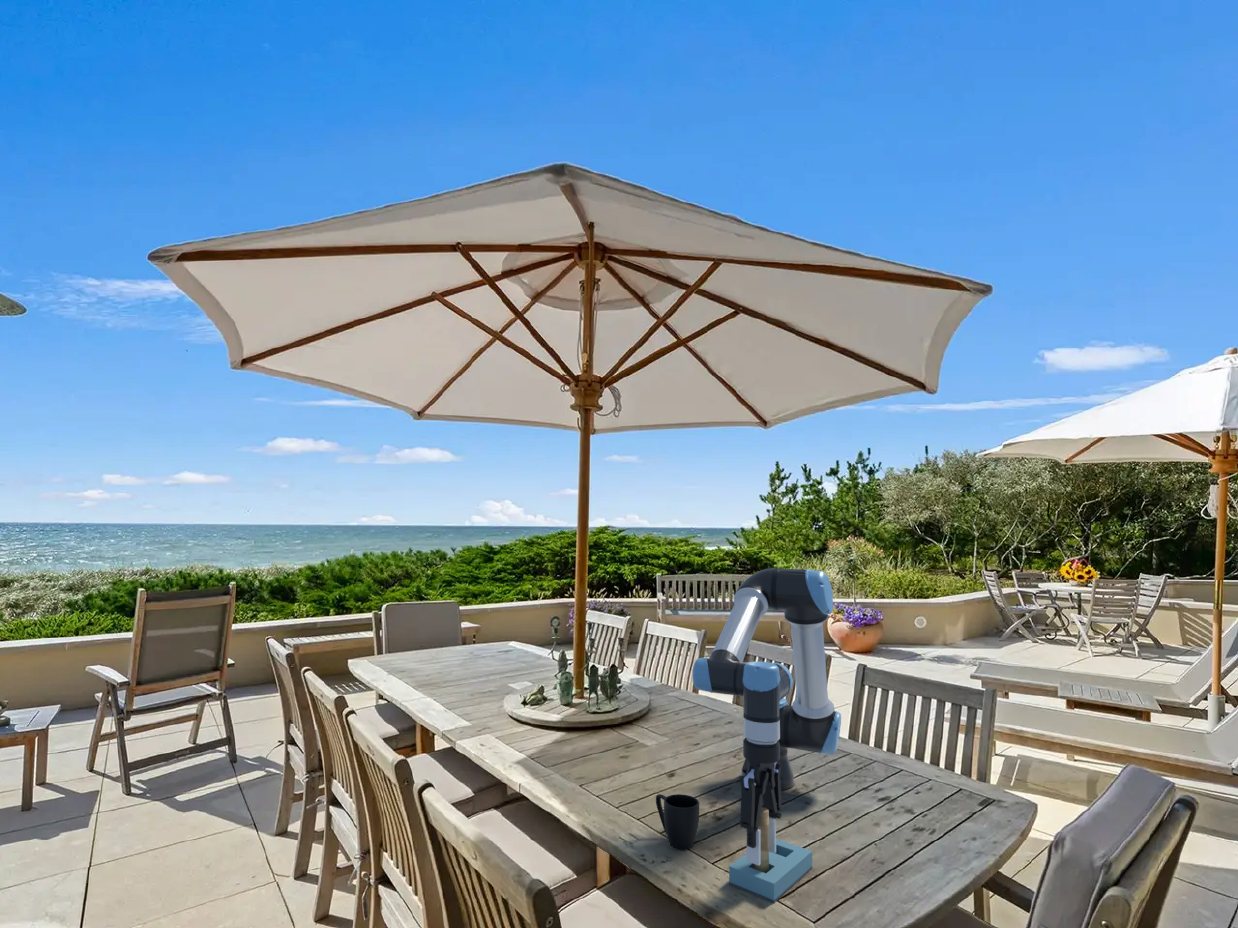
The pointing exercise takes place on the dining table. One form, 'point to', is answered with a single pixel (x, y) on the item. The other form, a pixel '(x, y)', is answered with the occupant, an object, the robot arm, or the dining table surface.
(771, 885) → the bore slab
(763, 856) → the dowel
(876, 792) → the dining table surface
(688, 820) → the mug
